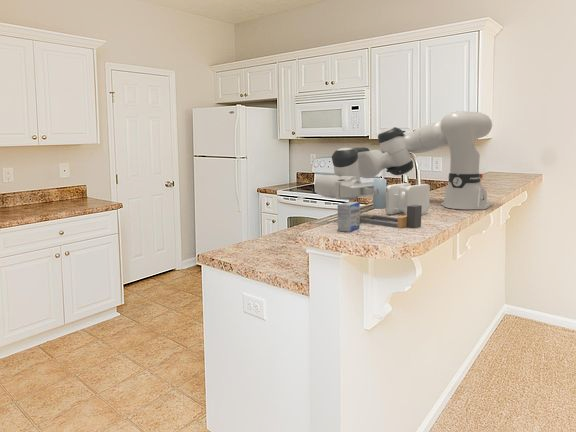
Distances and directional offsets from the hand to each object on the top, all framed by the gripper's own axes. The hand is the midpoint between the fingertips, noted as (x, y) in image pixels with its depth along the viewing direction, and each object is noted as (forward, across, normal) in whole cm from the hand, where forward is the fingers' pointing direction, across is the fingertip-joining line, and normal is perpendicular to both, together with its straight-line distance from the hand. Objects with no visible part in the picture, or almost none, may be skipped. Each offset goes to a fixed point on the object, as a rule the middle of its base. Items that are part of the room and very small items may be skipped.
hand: (382, 190), depth 161 cm
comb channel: (+4, 0, -11) cm, 12 cm away
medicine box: (0, +18, -11) cm, 21 cm away
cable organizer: (-2, -20, -11) cm, 23 cm away
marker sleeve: (-1, 0, -6) cm, 6 cm away
